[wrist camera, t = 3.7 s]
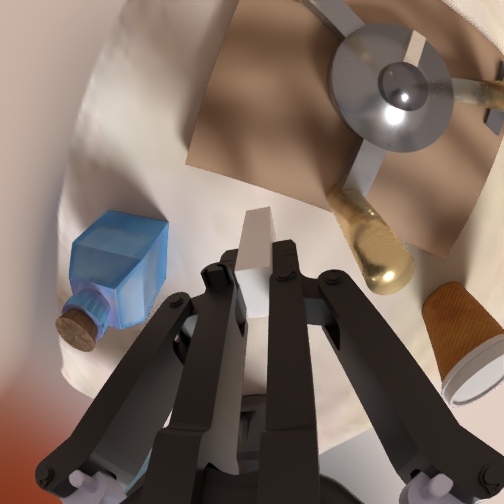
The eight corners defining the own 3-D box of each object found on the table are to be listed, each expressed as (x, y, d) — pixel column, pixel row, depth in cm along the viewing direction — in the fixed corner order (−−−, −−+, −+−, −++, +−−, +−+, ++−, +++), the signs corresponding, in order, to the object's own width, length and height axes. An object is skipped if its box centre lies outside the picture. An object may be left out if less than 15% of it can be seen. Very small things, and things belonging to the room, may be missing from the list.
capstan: (423, 248, 21) (478, 324, 13) (218, 171, 19) (178, 233, 11) (491, 90, 13) (576, 109, 5) (290, -27, 11) (304, -104, 3)
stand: (435, 249, 24) (452, 269, 20) (192, 158, 21) (178, 170, 18) (507, 72, 13) (531, 75, 10) (274, -61, 11) (275, -82, 7)
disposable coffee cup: (405, 339, 30) (434, 420, 20) (414, 279, 26) (464, 369, 15) (464, 321, 29) (501, 390, 18) (480, 262, 24) (536, 333, 14)
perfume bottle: (108, 210, 24) (28, 287, 13) (168, 222, 24) (106, 315, 14) (111, 264, 27) (52, 348, 17) (165, 277, 27) (120, 375, 17)
